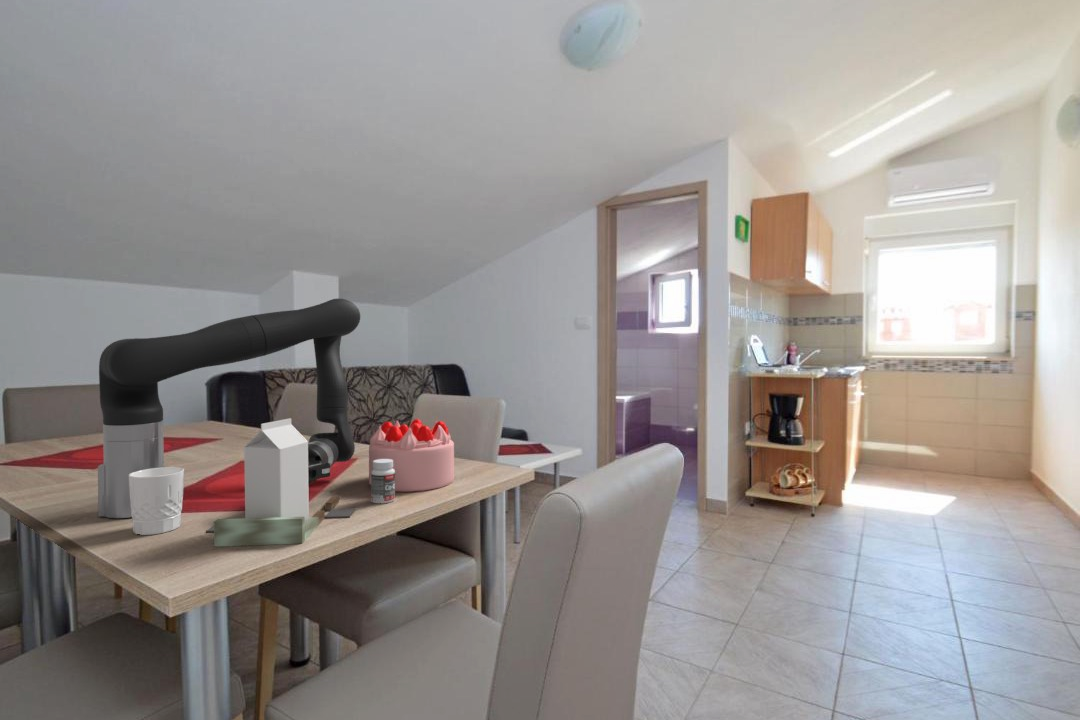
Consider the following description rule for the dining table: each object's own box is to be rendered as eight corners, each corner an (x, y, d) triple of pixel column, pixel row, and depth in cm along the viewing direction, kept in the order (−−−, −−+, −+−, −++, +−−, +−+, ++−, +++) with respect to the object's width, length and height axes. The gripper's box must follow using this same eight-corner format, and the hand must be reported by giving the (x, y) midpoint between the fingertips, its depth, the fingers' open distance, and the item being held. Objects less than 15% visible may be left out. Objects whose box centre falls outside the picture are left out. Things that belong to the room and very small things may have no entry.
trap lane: (214, 546, 86) (214, 521, 86) (270, 504, 109) (269, 484, 109) (302, 543, 88) (302, 518, 87) (338, 502, 111) (338, 483, 111)
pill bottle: (388, 504, 110) (388, 463, 109) (366, 503, 111) (366, 462, 110) (399, 498, 114) (399, 458, 114) (378, 497, 115) (378, 457, 115)
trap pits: (204, 535, 91) (204, 533, 91) (209, 524, 97) (209, 522, 97) (358, 516, 102) (358, 514, 102) (354, 507, 107) (354, 506, 107)
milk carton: (309, 525, 96) (308, 419, 96) (281, 539, 89) (279, 424, 89) (275, 522, 98) (274, 417, 97) (245, 535, 91) (243, 423, 90)
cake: (392, 498, 115) (392, 431, 115) (354, 480, 130) (354, 421, 130) (469, 483, 128) (469, 423, 127) (427, 469, 143) (427, 415, 142)
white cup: (152, 521, 98) (151, 466, 98) (194, 522, 98) (194, 467, 98) (117, 536, 90) (116, 476, 90) (163, 537, 90) (162, 477, 90)
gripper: (277, 444, 113) (241, 461, 96) (343, 443, 115) (319, 459, 97) (277, 479, 113) (242, 503, 96) (343, 478, 115) (319, 501, 97)
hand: (281, 481), depth 97 cm, fingers closed
